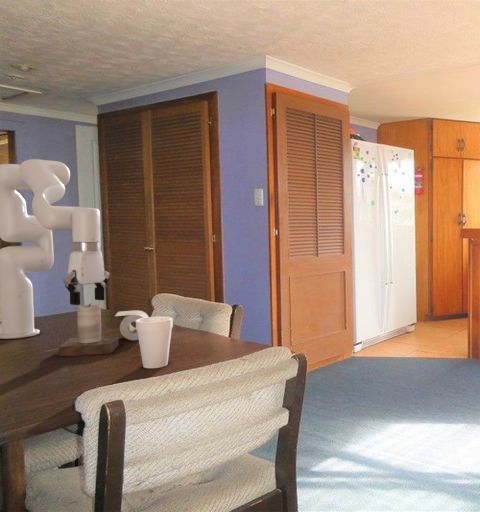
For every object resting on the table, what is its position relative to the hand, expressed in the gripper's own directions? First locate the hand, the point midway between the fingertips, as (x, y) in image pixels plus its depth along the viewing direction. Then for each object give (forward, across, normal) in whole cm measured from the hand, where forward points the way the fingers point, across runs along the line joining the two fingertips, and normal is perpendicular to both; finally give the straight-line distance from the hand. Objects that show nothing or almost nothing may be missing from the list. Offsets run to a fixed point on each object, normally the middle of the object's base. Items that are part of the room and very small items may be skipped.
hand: (87, 302), depth 164 cm
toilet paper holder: (+16, -20, +3) cm, 26 cm away
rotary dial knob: (+12, 0, +1) cm, 12 cm away
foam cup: (+15, +10, +32) cm, 36 cm away
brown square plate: (+15, 0, +1) cm, 15 cm away
